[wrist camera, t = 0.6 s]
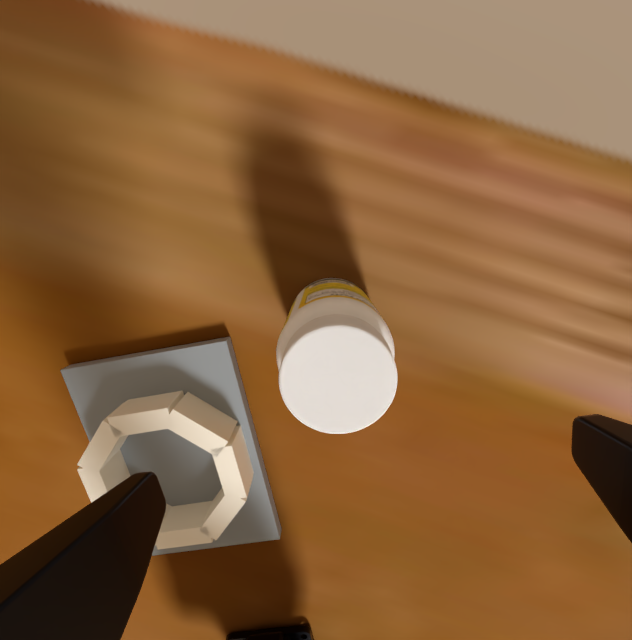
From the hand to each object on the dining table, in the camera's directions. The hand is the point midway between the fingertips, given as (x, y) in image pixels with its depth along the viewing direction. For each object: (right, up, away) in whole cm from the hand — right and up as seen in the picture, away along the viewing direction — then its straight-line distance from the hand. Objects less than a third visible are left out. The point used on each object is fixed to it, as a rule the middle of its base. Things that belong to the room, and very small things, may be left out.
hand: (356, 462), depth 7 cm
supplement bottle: (0, +3, +12) cm, 13 cm away
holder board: (-9, -5, +15) cm, 18 cm away
